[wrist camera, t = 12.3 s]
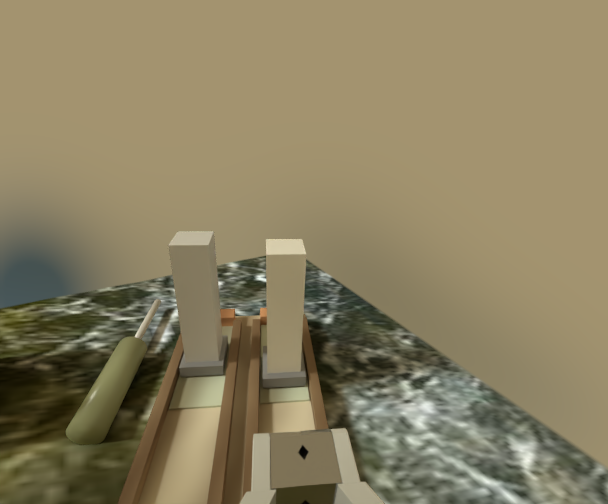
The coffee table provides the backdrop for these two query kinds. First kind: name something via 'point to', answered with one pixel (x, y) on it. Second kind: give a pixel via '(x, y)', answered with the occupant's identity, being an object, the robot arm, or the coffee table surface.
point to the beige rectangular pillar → (284, 313)
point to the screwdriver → (110, 388)
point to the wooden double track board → (219, 421)
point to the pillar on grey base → (198, 303)
